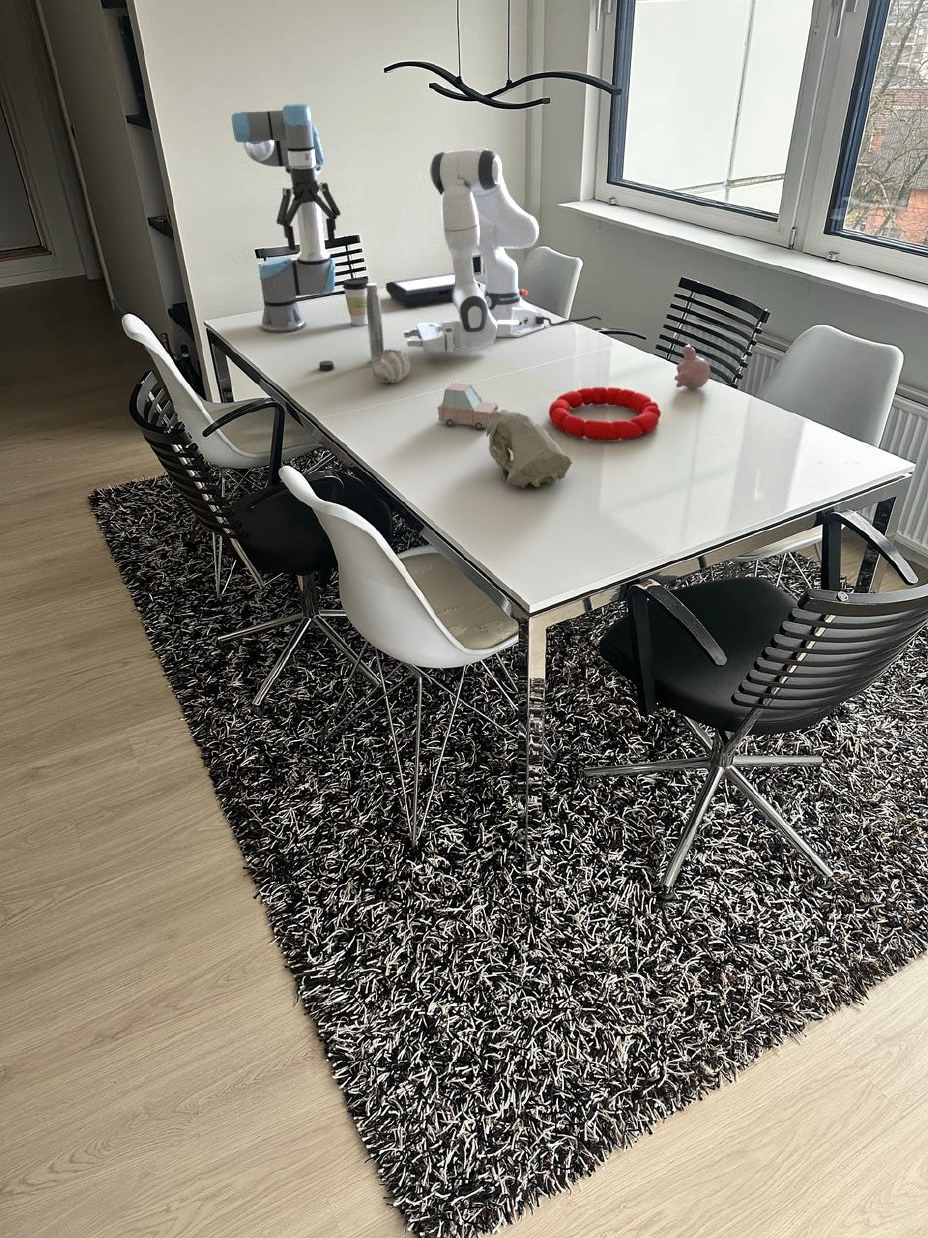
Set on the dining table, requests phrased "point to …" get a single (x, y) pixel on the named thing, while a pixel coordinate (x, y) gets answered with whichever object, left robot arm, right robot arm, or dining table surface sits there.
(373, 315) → the bottle
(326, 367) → the cap
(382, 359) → the seashell
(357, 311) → the coffee cup
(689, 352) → the figurine
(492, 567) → the dining table surface
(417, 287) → the electronic device
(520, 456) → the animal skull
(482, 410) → the toy car
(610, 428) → the decorative ring
